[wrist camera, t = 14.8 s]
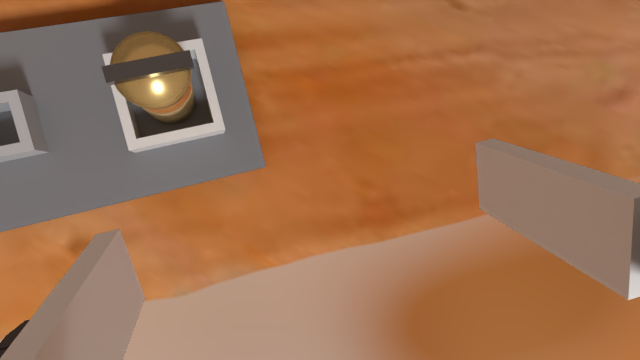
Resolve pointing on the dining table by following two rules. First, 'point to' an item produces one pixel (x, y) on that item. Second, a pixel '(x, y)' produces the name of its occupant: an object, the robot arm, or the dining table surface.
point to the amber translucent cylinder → (153, 75)
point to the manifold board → (114, 117)
